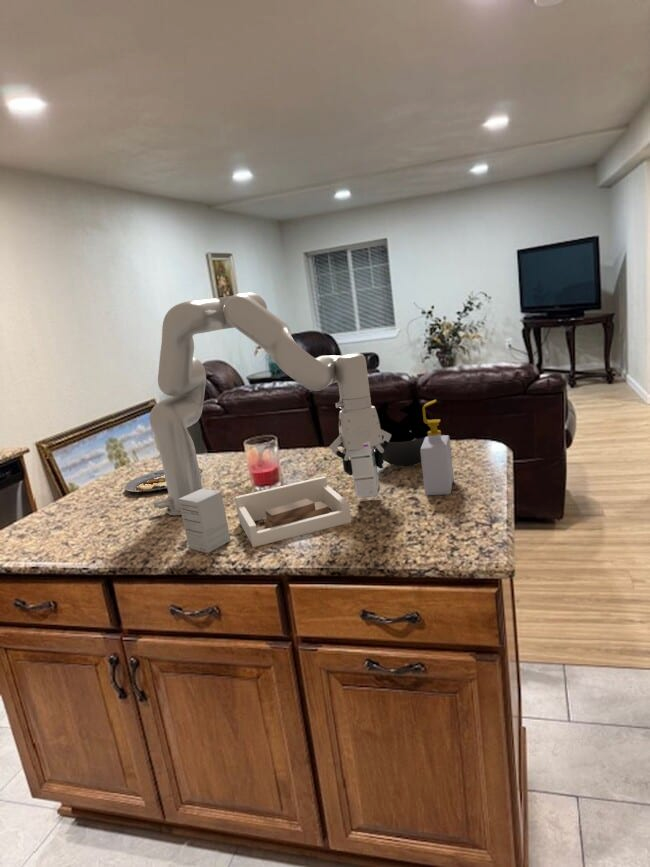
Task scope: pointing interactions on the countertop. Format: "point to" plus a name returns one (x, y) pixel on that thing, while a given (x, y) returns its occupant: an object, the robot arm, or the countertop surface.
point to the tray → (313, 489)
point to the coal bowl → (404, 435)
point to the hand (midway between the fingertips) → (364, 470)
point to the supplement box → (204, 520)
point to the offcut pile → (293, 513)
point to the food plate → (145, 478)
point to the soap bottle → (436, 459)
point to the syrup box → (365, 472)
